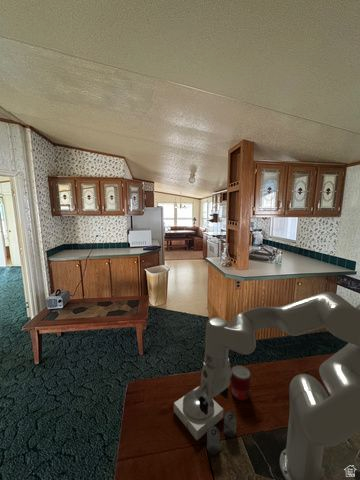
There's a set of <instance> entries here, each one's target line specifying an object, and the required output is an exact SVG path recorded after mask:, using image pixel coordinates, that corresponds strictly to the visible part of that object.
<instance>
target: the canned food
mask: <svg viewBox="0 0 360 480" xmlns="http://www.w3.org/2000/svg"><path fill="white" fill-rule="evenodd" d="M231 370H233V373H232V376H231V380H230V392H231V396H233V397H234V398H235V400H238V401H246V400H247V399H248V398H249V396H250V386H251V371H250V369H248V368H247V367H245V366H243V365H235V366H233V367H232V368H231Z"/></svg>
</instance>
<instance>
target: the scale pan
mask: <svg viewBox="0 0 360 480" xmlns="http://www.w3.org/2000/svg"><path fill="white" fill-rule="evenodd" d="M192 390H193V391H192ZM192 390H191V391H188V392H186V394H185V395H184V396H185V397H184V399H183V408H184V411H185V412H186V414H187V415H189V416H190V417H191V418H194V419H198V420H202V419H206V418H208V417H209V416H210V415H211V414H212V413H213V410H214V402H213V400H214V398H209V399H208V401H207V402H208V414H207V415H206V414H205V413H204V412H202V411H201V410H200V401H199V400H198V399H197V398H196V396H195V394H194V393H195V392H196V390H194V389H192ZM203 397H204V398H205V397H206V394H205V393H204V394H203Z"/></svg>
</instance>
